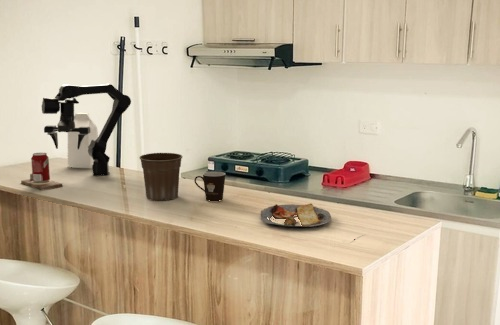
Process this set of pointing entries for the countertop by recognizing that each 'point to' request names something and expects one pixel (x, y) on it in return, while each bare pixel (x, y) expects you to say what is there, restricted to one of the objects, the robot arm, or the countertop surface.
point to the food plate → (305, 214)
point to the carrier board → (41, 184)
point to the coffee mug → (213, 185)
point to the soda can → (40, 167)
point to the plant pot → (161, 175)
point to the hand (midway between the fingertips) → (67, 149)
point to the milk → (81, 155)
